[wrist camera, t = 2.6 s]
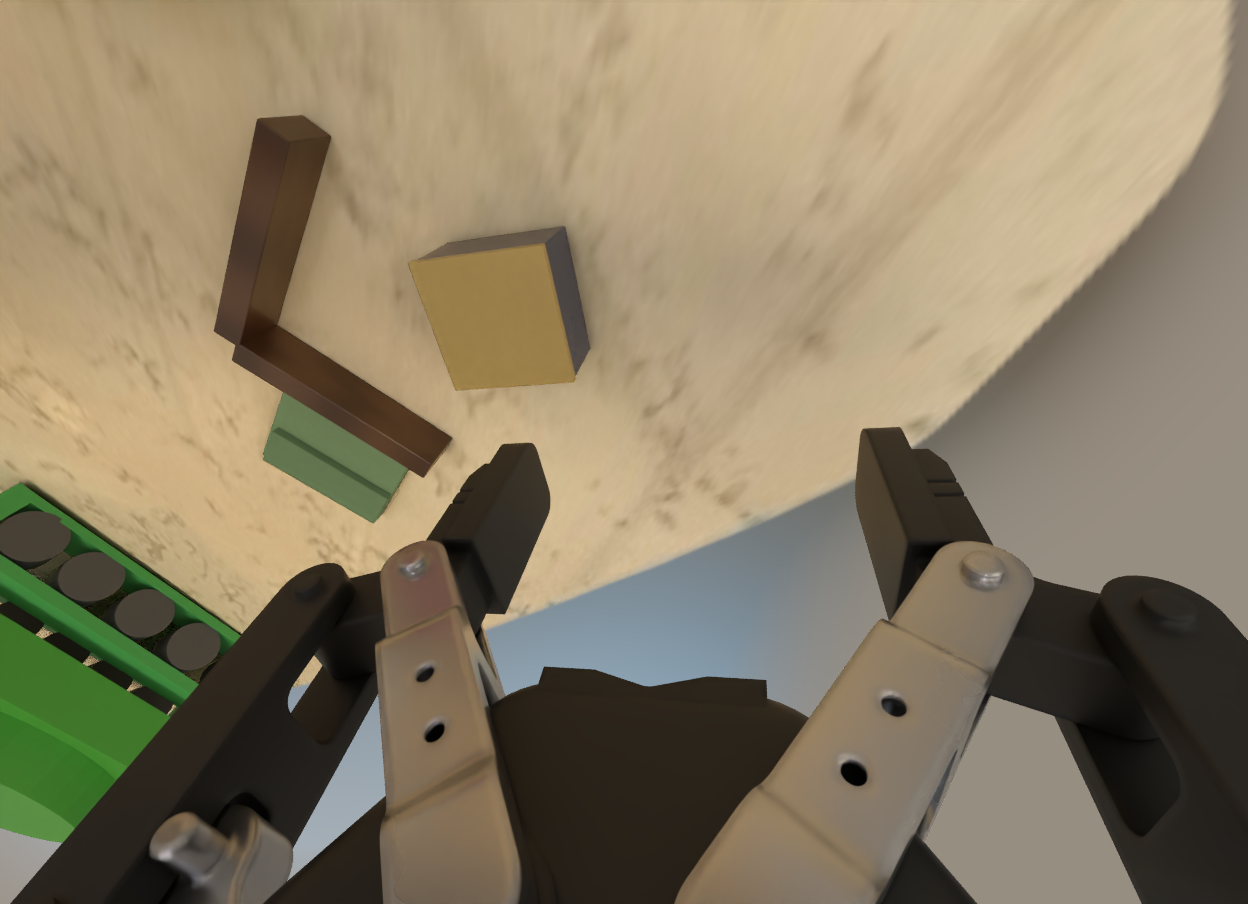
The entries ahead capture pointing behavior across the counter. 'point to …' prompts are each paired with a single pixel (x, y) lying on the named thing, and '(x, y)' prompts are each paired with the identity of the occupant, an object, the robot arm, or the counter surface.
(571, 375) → the tea tin
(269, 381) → the corner guide
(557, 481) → the counter surface
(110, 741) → the tank
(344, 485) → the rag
